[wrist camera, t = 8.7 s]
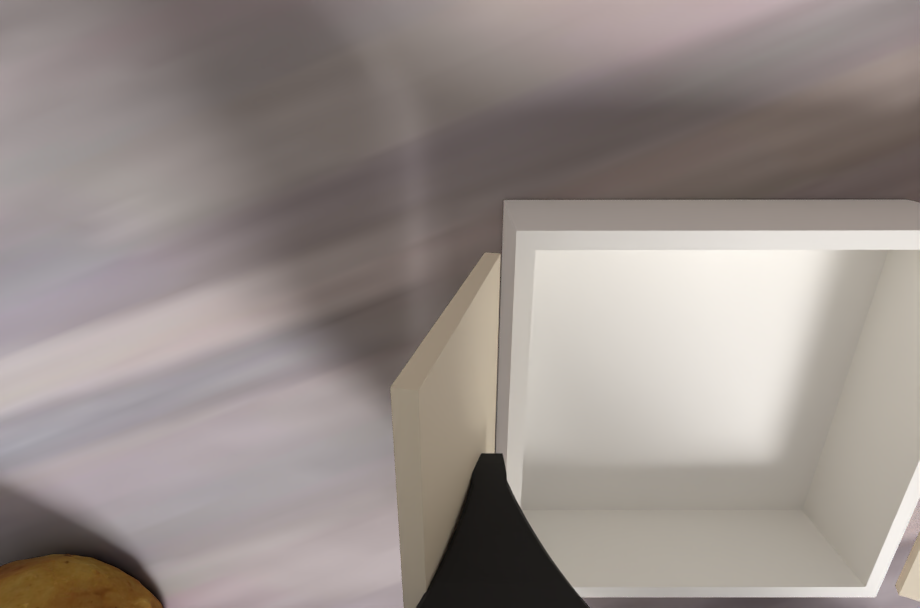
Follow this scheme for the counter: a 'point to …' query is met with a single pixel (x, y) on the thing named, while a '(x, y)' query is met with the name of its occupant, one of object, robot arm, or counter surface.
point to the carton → (712, 391)
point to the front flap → (444, 423)
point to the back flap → (911, 574)
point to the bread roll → (70, 584)
